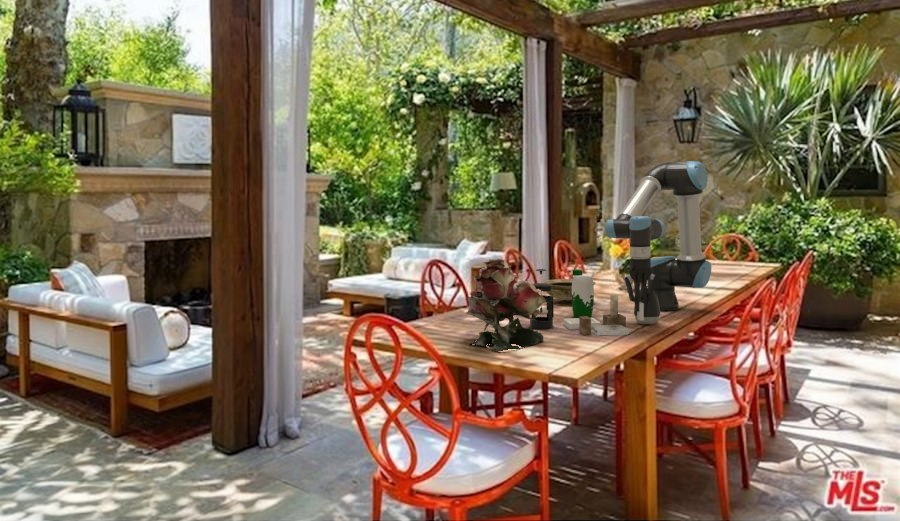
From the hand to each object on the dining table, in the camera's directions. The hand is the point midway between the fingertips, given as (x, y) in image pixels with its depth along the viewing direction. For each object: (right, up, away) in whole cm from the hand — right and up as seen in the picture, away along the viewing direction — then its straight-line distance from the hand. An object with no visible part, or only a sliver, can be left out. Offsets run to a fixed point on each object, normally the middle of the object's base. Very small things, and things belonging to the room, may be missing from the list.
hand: (640, 319), depth 259 cm
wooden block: (-21, -5, -2) cm, 22 cm away
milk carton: (-16, -2, +31) cm, 35 cm away
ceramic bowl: (-15, +2, +68) cm, 69 cm away
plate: (-12, -5, -1) cm, 13 cm away
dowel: (-7, -3, +11) cm, 14 cm away
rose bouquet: (-54, -7, -12) cm, 55 cm away
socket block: (-7, -3, +11) cm, 14 cm away
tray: (-20, -4, +10) cm, 23 cm away
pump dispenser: (+7, -3, +15) cm, 16 cm away
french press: (-35, -4, +12) cm, 38 cm away
